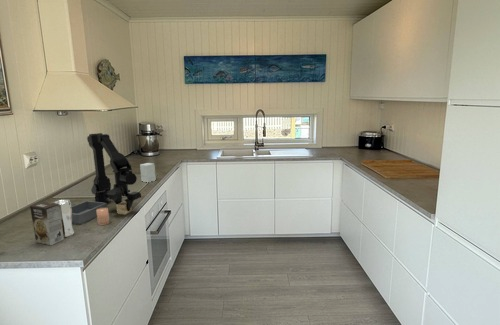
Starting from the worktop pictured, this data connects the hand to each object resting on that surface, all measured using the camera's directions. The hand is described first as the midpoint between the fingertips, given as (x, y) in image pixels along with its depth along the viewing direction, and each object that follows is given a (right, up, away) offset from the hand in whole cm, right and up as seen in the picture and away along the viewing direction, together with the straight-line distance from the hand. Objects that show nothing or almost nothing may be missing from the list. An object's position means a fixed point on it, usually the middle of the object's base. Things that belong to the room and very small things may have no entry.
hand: (124, 210), depth 165 cm
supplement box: (-7, +11, +62) cm, 63 cm away
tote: (-18, -2, -5) cm, 19 cm away
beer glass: (-15, -7, -26) cm, 31 cm away
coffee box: (-19, -8, -32) cm, 38 cm away
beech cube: (0, -1, 0) cm, 1 cm away
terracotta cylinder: (-4, -4, -14) cm, 15 cm away
